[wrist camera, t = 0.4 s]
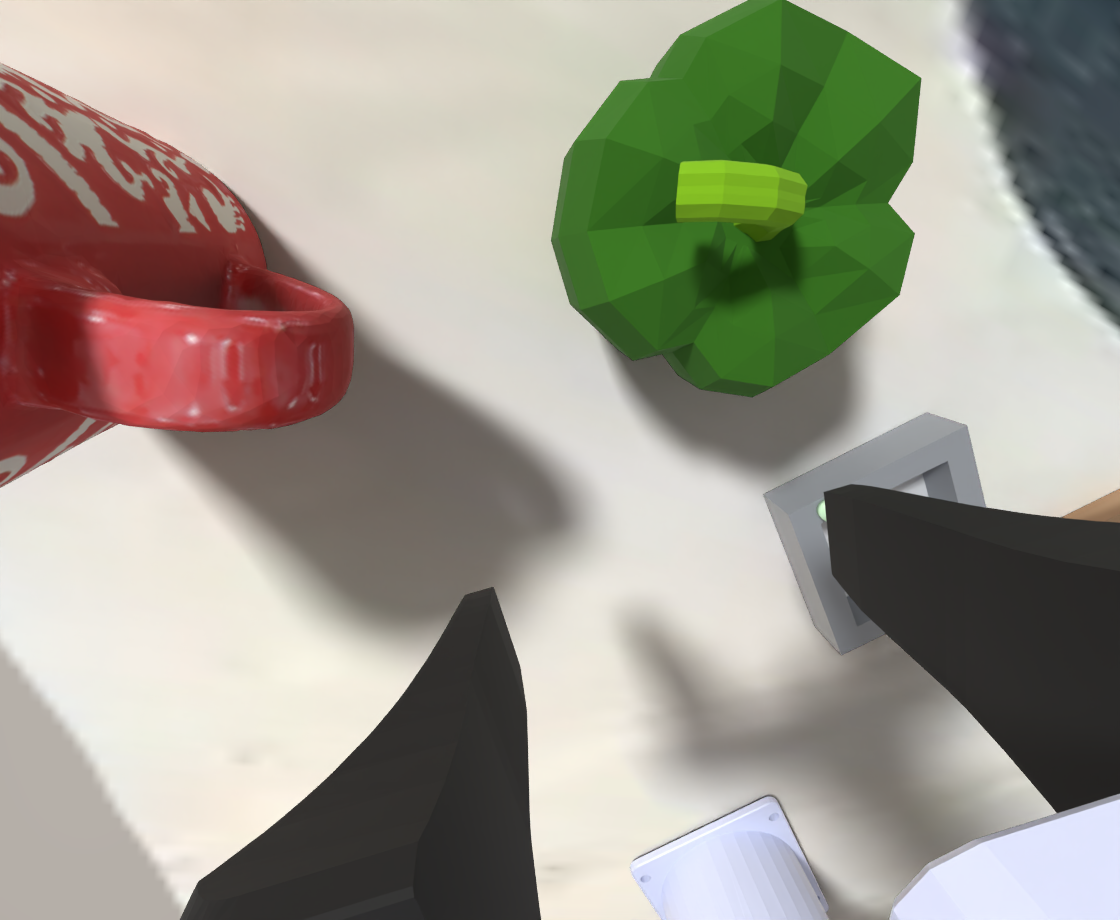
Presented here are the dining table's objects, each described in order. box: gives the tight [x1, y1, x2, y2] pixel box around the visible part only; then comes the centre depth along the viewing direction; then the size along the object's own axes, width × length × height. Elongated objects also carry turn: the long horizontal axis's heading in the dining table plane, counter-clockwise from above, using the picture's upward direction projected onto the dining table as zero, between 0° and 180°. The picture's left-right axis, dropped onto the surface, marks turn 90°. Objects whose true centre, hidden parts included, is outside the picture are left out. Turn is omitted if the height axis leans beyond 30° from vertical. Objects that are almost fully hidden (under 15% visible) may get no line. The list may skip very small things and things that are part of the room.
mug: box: [0, 63, 354, 488], centre depth 12 cm, size 13×9×14 cm
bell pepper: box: [551, 0, 921, 397], centre depth 15 cm, size 8×8×10 cm
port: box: [763, 413, 986, 655], centre depth 23 cm, size 7×7×2 cm
